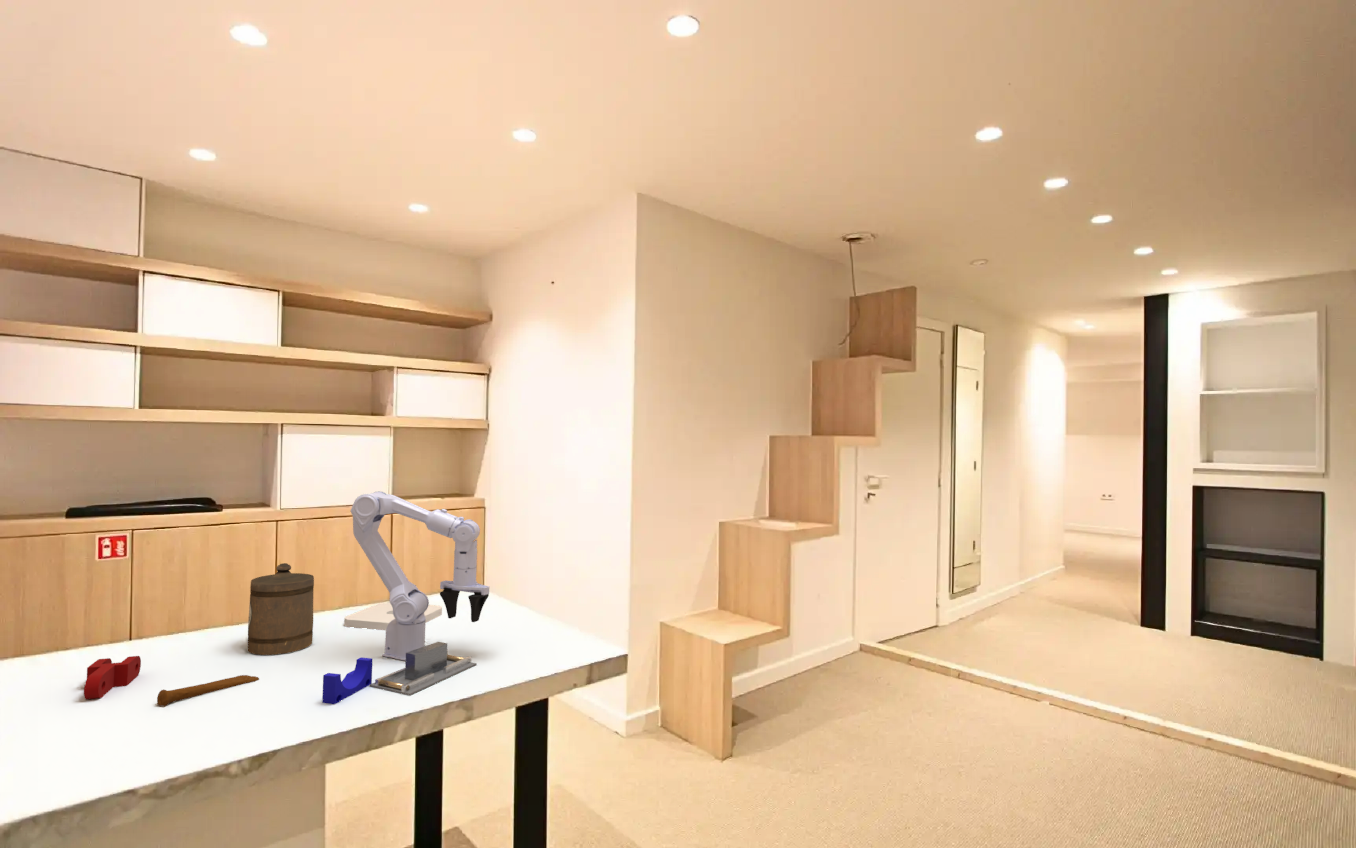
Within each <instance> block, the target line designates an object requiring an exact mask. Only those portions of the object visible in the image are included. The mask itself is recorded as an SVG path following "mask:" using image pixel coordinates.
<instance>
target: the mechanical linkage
mask: <svg viewBox="0 0 1356 848" xmlns="http://www.w3.org/2000/svg"><path fill="white" fill-rule="evenodd" d="M141 666H142V660H141V656H139V655H133V656H127V657H126V658H125V659H123V660H122V661H121V662H120V661H119V662H113V661H112V659H111V658H109V657H107V658H99V659H97V660H96V661H94V662H93V663H92V664H90V665H89V666H88V667H86V681H85V684H84V688H83V695H84V699H85V700H96V699H97V700H99V699H102V698H103V697H105V696H106V694H108V693H109V692H110V691H111V690H112V689H113V688H117V687H128V685H130V684H131V683H132V682H133V681H135V679H136V678H138V676H139V674H140V672H141V671H140V670H141Z"/></svg>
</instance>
